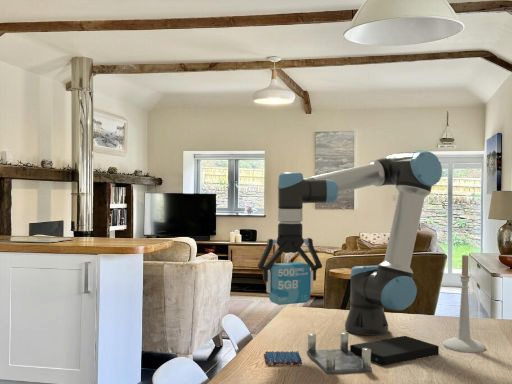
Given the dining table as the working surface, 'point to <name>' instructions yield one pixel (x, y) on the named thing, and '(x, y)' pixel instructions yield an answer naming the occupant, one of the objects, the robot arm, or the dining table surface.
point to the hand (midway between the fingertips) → (289, 291)
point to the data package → (290, 283)
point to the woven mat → (282, 358)
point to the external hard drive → (396, 350)
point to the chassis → (339, 357)
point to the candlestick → (464, 319)
